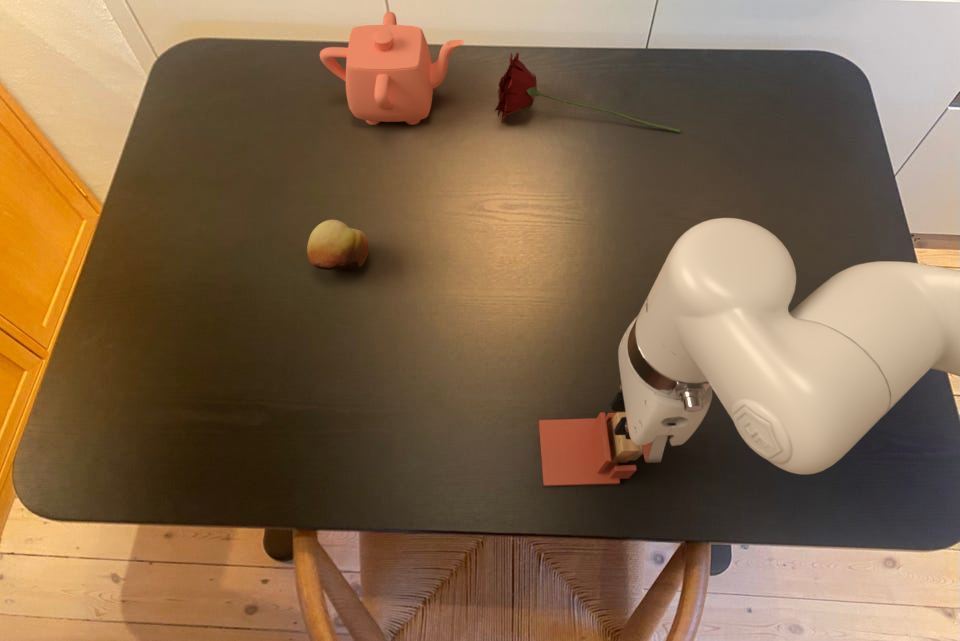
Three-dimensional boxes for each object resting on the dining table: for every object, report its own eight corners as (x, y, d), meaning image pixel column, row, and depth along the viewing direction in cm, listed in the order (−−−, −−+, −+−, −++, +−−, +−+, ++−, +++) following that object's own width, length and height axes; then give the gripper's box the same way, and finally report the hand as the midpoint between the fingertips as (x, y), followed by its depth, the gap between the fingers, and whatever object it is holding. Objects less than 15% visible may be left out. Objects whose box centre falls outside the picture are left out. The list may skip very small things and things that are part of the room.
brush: (675, 378, 58) (644, 378, 58) (683, 422, 56) (652, 422, 56) (630, 425, 72) (605, 426, 72) (635, 462, 70) (610, 462, 70)
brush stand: (620, 418, 75) (631, 401, 69) (629, 483, 72) (642, 470, 66) (538, 421, 75) (543, 403, 69) (543, 486, 72) (548, 473, 66)
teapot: (328, 106, 100) (307, 37, 88) (397, 57, 105) (386, -14, 93) (398, 158, 95) (385, 92, 83) (467, 104, 100) (464, 35, 88)
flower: (695, 132, 90) (500, 80, 87) (663, 178, 99) (486, 132, 97) (695, 82, 95) (510, 31, 92) (665, 129, 104) (496, 84, 102)
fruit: (382, 270, 85) (372, 237, 78) (328, 297, 84) (314, 266, 76) (358, 232, 88) (347, 198, 81) (306, 257, 86) (290, 224, 79)
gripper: (752, 447, 43) (677, 497, 59) (707, 257, 50) (651, 348, 66) (645, 450, 42) (600, 499, 59) (616, 259, 50) (583, 350, 66)
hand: (627, 419), depth 62 cm, fingers closed on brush, 2 cm apart
